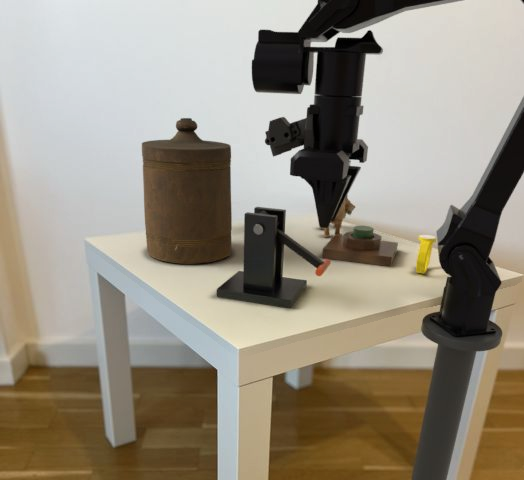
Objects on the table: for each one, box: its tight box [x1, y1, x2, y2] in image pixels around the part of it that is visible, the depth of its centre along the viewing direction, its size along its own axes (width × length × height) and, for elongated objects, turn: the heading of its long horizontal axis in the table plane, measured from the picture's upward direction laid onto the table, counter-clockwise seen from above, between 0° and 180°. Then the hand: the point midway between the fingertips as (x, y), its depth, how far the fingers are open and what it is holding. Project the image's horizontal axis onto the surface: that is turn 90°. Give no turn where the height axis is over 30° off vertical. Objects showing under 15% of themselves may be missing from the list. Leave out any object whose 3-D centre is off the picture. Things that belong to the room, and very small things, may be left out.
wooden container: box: [141, 117, 233, 265], centre depth 92 cm, size 15×15×22 cm
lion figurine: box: [318, 194, 356, 238], centre depth 111 cm, size 15×5×9 cm, turn 8°
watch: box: [415, 234, 437, 275], centre depth 90 cm, size 6×3×6 cm, turn 156°
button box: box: [321, 230, 399, 267], centre depth 99 cm, size 12×10×4 cm
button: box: [352, 225, 374, 239], centre depth 98 cm, size 4×4×2 cm
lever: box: [259, 211, 331, 277], centre depth 76 cm, size 12×5×2 cm, turn 71°
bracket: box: [216, 206, 308, 309], centre depth 78 cm, size 11×9×12 cm
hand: (326, 224), depth 73 cm, fingers open, 4 cm apart
